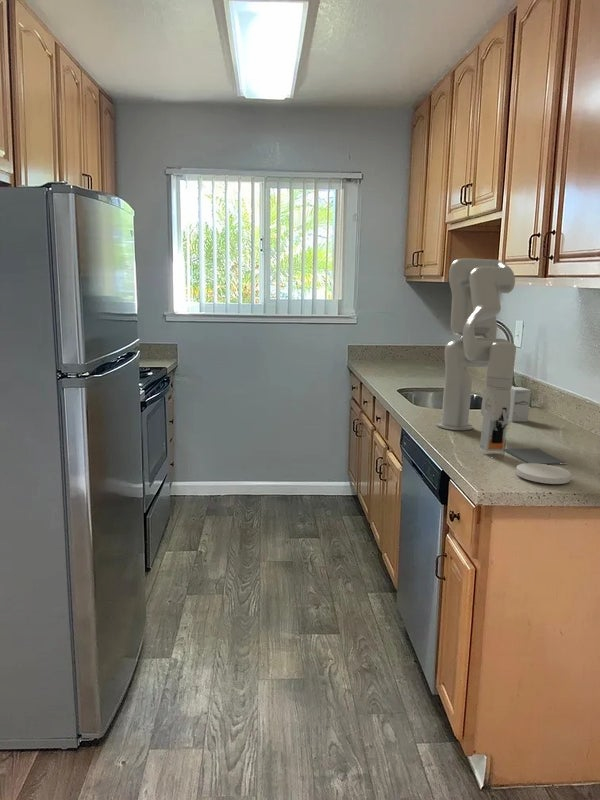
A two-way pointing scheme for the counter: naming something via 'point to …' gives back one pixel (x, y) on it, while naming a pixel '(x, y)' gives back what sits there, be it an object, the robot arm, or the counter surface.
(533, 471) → the plastic lid
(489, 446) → the skincare box
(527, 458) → the mat
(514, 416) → the supplement box
